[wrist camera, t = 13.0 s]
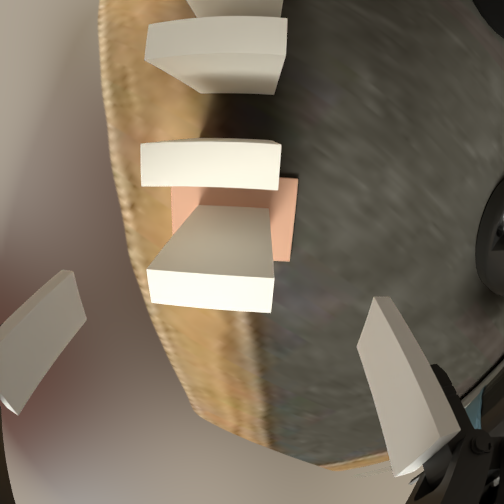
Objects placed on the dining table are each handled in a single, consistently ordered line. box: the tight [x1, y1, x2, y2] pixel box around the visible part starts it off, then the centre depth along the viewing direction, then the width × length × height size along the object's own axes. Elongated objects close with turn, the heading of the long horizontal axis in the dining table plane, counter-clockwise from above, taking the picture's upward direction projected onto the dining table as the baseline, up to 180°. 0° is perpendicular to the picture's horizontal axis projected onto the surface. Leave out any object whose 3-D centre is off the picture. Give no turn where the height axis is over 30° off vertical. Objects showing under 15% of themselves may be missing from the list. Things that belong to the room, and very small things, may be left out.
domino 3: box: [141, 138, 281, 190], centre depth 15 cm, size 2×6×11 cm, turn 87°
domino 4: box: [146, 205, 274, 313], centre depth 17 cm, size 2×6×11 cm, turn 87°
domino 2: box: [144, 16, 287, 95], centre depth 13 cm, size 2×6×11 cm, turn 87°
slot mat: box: [171, 177, 298, 261], centre depth 22 cm, size 7×10×1 cm
